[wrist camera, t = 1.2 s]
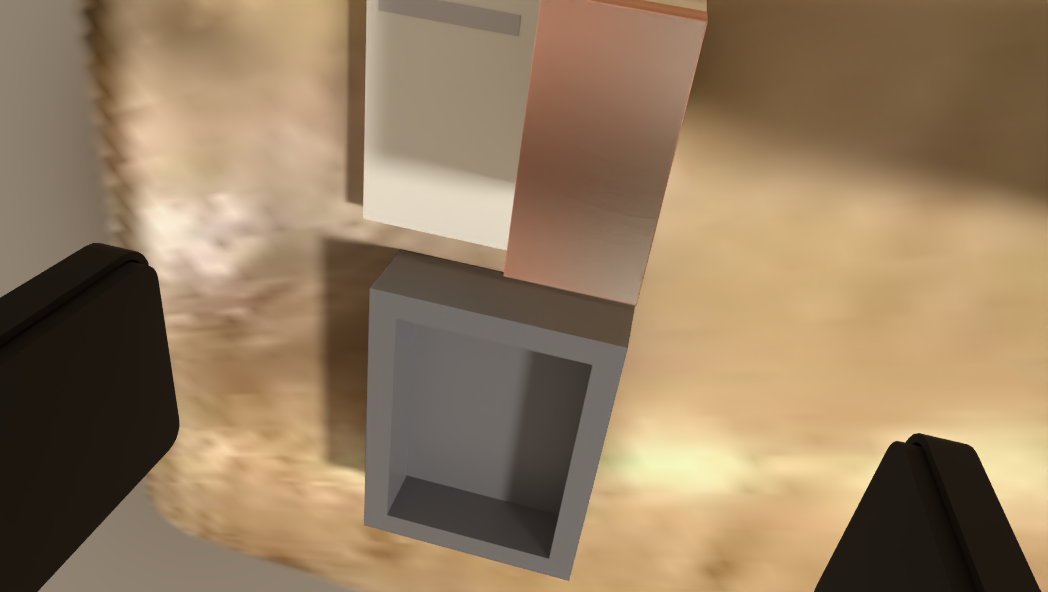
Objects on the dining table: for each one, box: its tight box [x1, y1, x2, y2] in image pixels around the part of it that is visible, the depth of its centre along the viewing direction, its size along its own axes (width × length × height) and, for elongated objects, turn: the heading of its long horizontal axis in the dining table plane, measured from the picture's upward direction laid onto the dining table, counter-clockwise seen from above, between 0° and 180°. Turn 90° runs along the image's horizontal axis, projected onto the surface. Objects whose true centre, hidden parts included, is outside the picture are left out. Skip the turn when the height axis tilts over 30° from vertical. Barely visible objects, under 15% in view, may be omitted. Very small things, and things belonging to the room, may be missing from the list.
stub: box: [503, 0, 708, 306], centre depth 20 cm, size 7×4×7 cm, turn 172°
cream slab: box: [363, 0, 540, 250], centre depth 23 cm, size 12×6×1 cm, turn 172°
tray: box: [364, 250, 635, 581], centre depth 29 cm, size 12×9×3 cm
